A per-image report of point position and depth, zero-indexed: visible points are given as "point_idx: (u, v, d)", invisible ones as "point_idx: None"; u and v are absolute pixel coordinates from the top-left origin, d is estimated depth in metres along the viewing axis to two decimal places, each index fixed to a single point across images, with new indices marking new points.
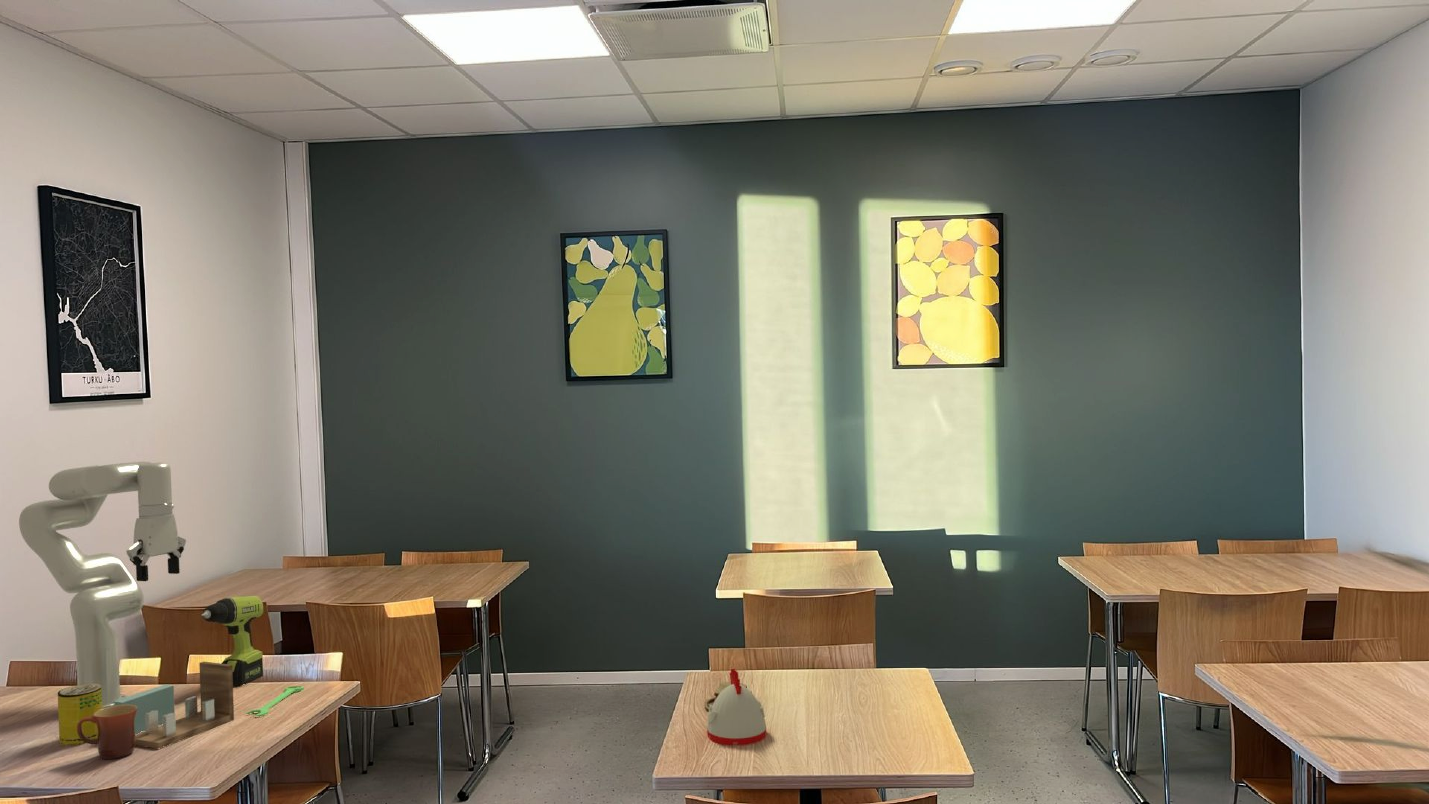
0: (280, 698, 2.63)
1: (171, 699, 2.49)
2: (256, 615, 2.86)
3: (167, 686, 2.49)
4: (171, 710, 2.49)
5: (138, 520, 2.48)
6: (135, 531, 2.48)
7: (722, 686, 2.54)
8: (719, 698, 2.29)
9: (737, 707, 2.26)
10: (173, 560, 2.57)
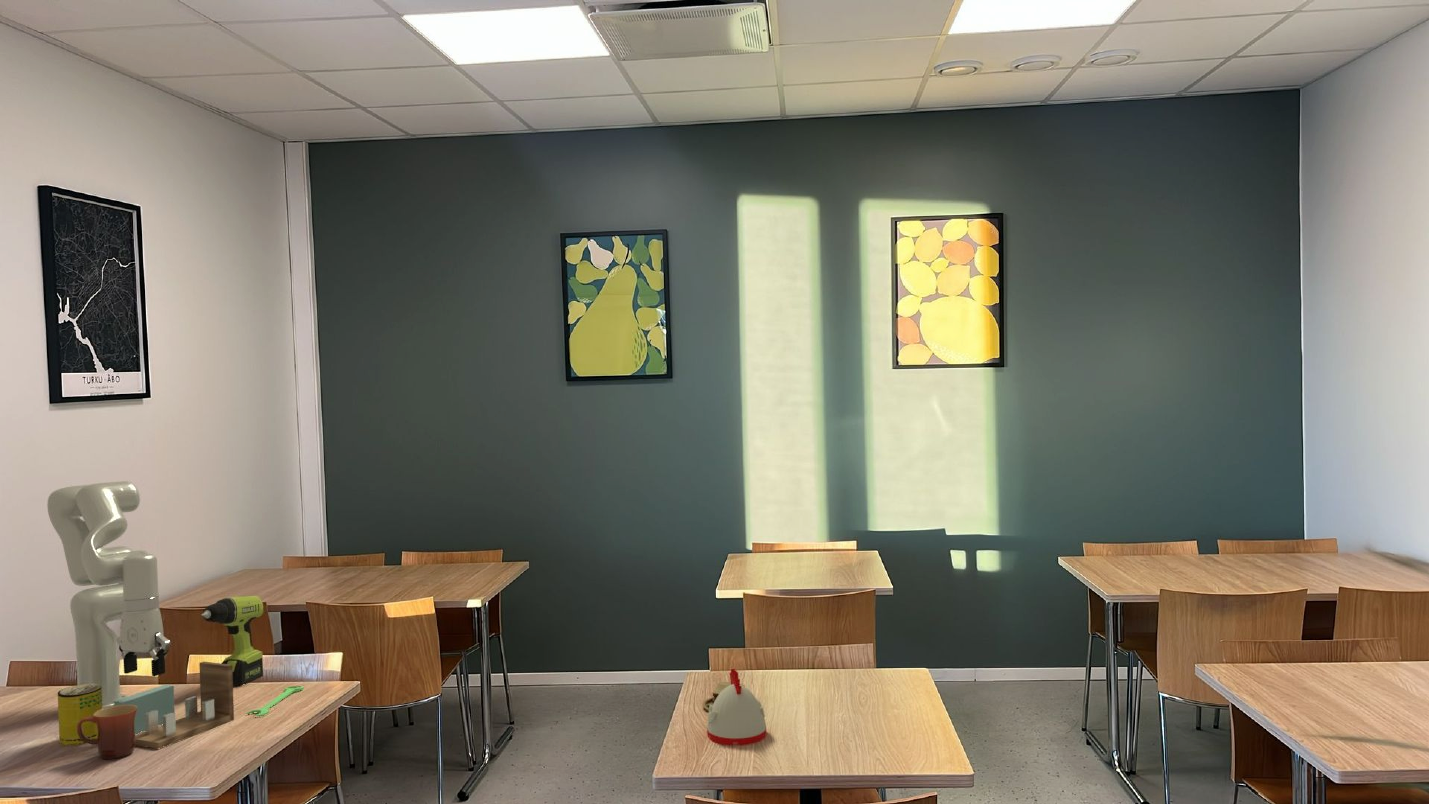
0: (280, 698, 2.63)
1: (171, 699, 2.49)
2: (256, 615, 2.86)
3: (167, 686, 2.49)
4: (171, 710, 2.49)
5: (151, 613, 2.40)
6: (150, 625, 2.40)
7: (720, 686, 2.54)
8: (719, 698, 2.29)
9: (737, 707, 2.26)
10: (133, 657, 2.45)
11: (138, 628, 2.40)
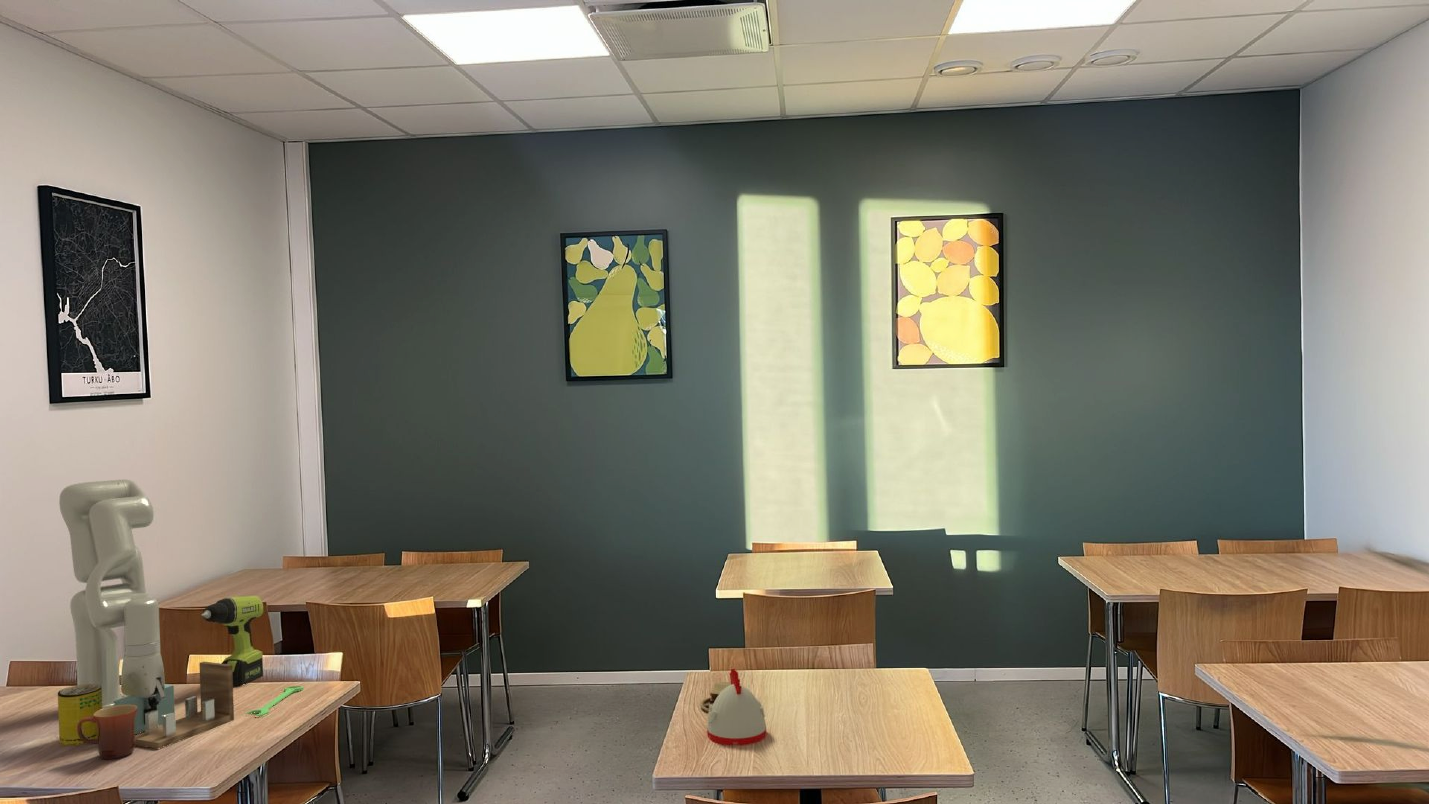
0: (280, 698, 2.63)
1: (171, 699, 2.49)
2: (256, 615, 2.86)
3: (167, 686, 2.49)
4: (171, 709, 2.49)
5: (153, 659, 2.41)
6: (151, 670, 2.40)
7: (717, 686, 2.54)
8: (719, 698, 2.29)
9: (737, 707, 2.26)
10: None
11: (139, 673, 2.40)
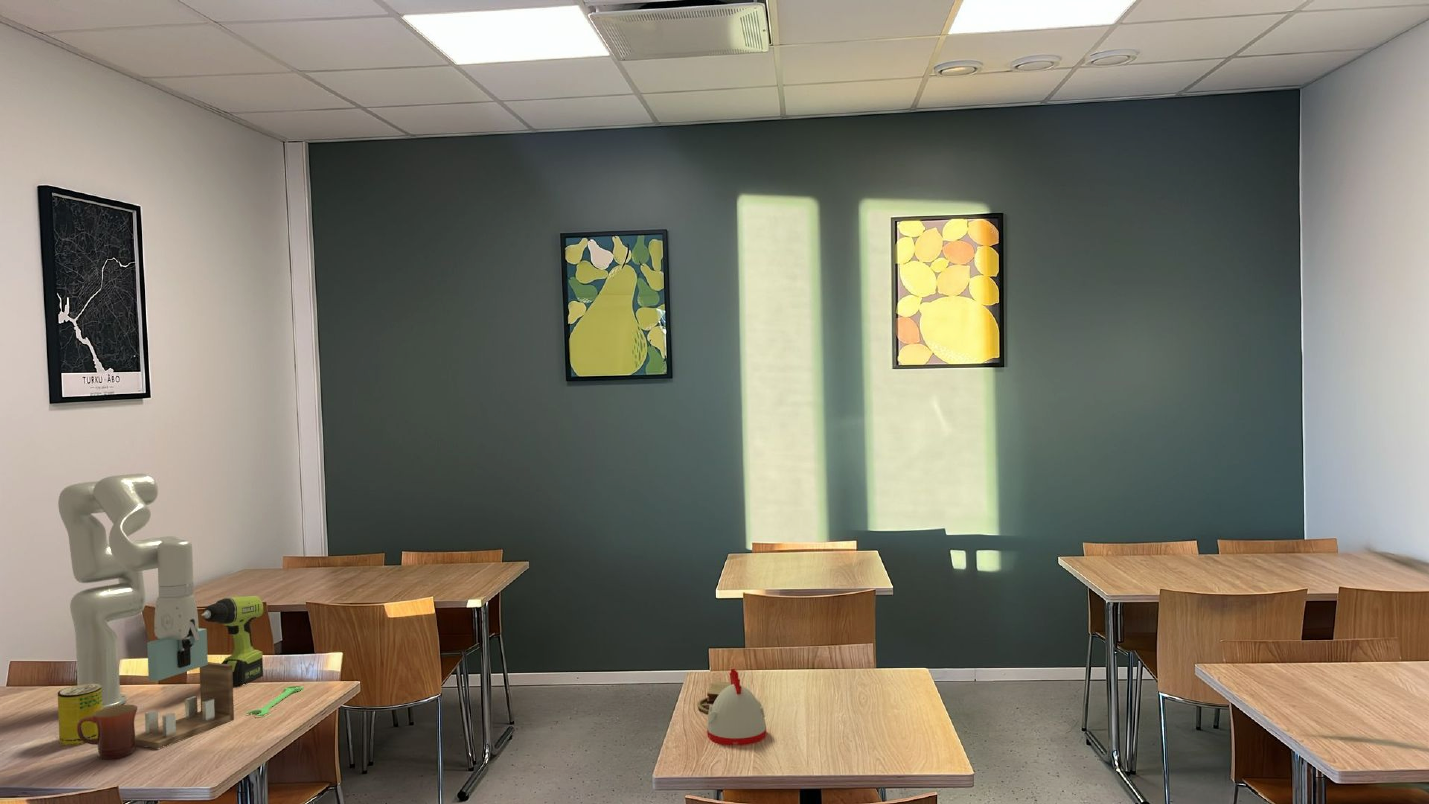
0: (280, 698, 2.63)
1: (204, 643, 2.45)
2: (256, 615, 2.86)
3: (200, 629, 2.45)
4: (204, 653, 2.45)
5: (187, 600, 2.37)
6: (185, 612, 2.37)
7: (714, 687, 2.54)
8: (719, 698, 2.29)
9: (737, 707, 2.26)
10: None
11: (173, 615, 2.37)
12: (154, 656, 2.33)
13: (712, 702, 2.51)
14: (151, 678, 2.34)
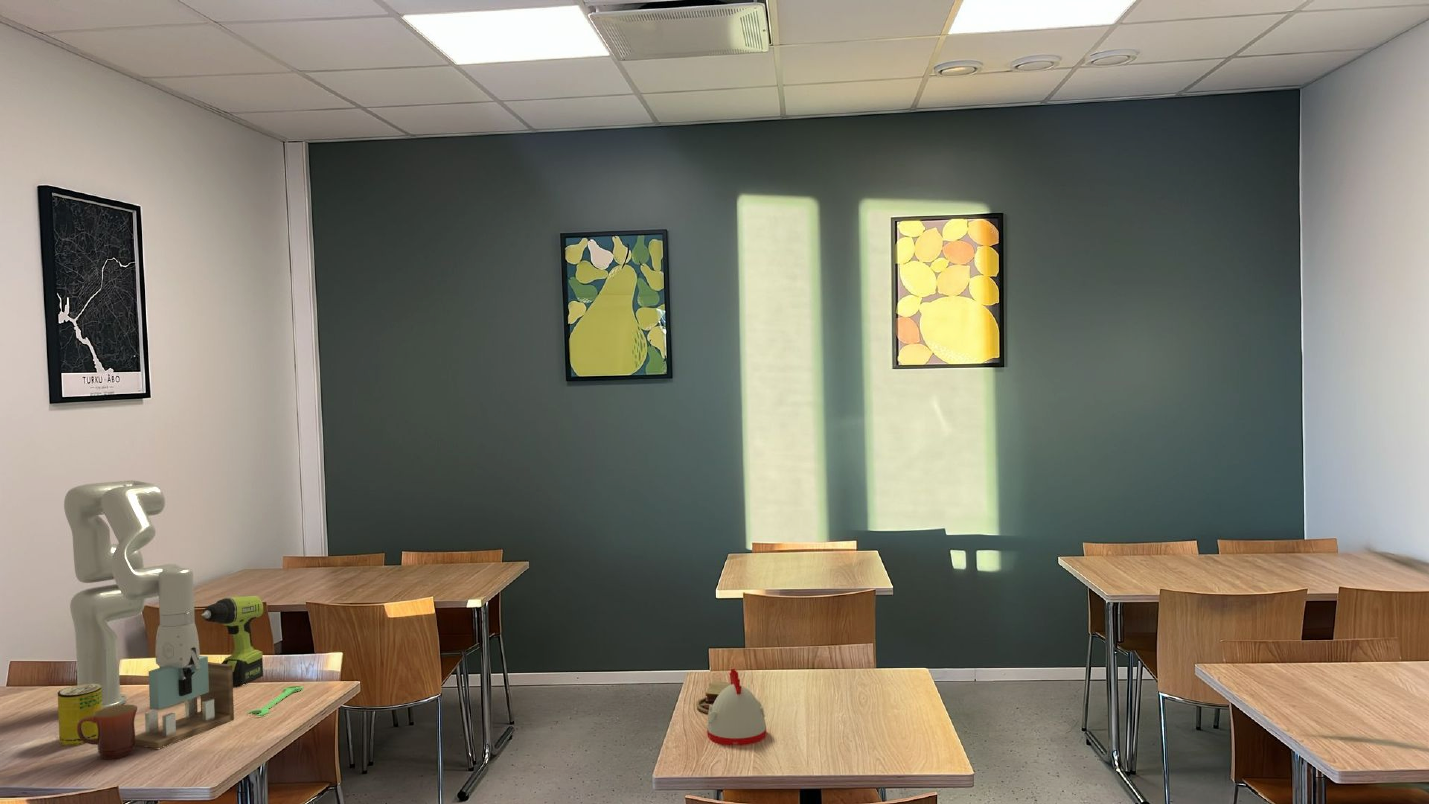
0: (280, 698, 2.63)
1: (205, 670, 2.45)
2: (256, 615, 2.86)
3: (201, 657, 2.45)
4: (205, 681, 2.45)
5: (188, 628, 2.37)
6: (186, 640, 2.37)
7: (712, 686, 2.54)
8: (719, 698, 2.29)
9: (737, 707, 2.26)
10: None
11: (174, 643, 2.37)
12: (155, 685, 2.33)
13: (711, 702, 2.51)
14: (152, 707, 2.34)
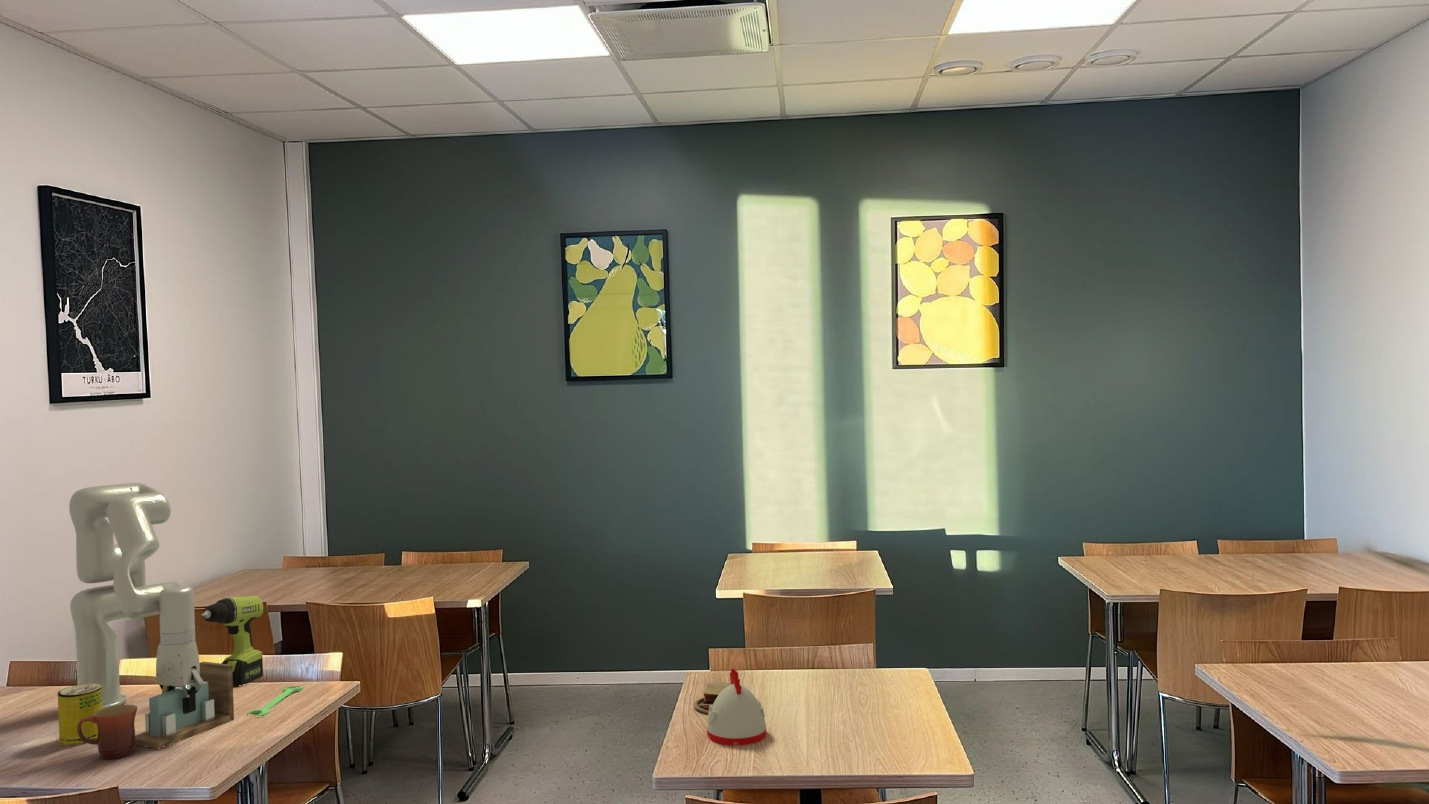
0: (280, 698, 2.63)
1: (206, 696, 2.46)
2: (256, 615, 2.86)
3: None
4: None
5: (188, 647, 2.38)
6: (186, 659, 2.37)
7: (710, 687, 2.54)
8: (719, 698, 2.29)
9: (737, 707, 2.26)
10: None
11: (175, 662, 2.37)
12: (156, 712, 2.34)
13: (709, 702, 2.51)
14: (153, 734, 2.34)
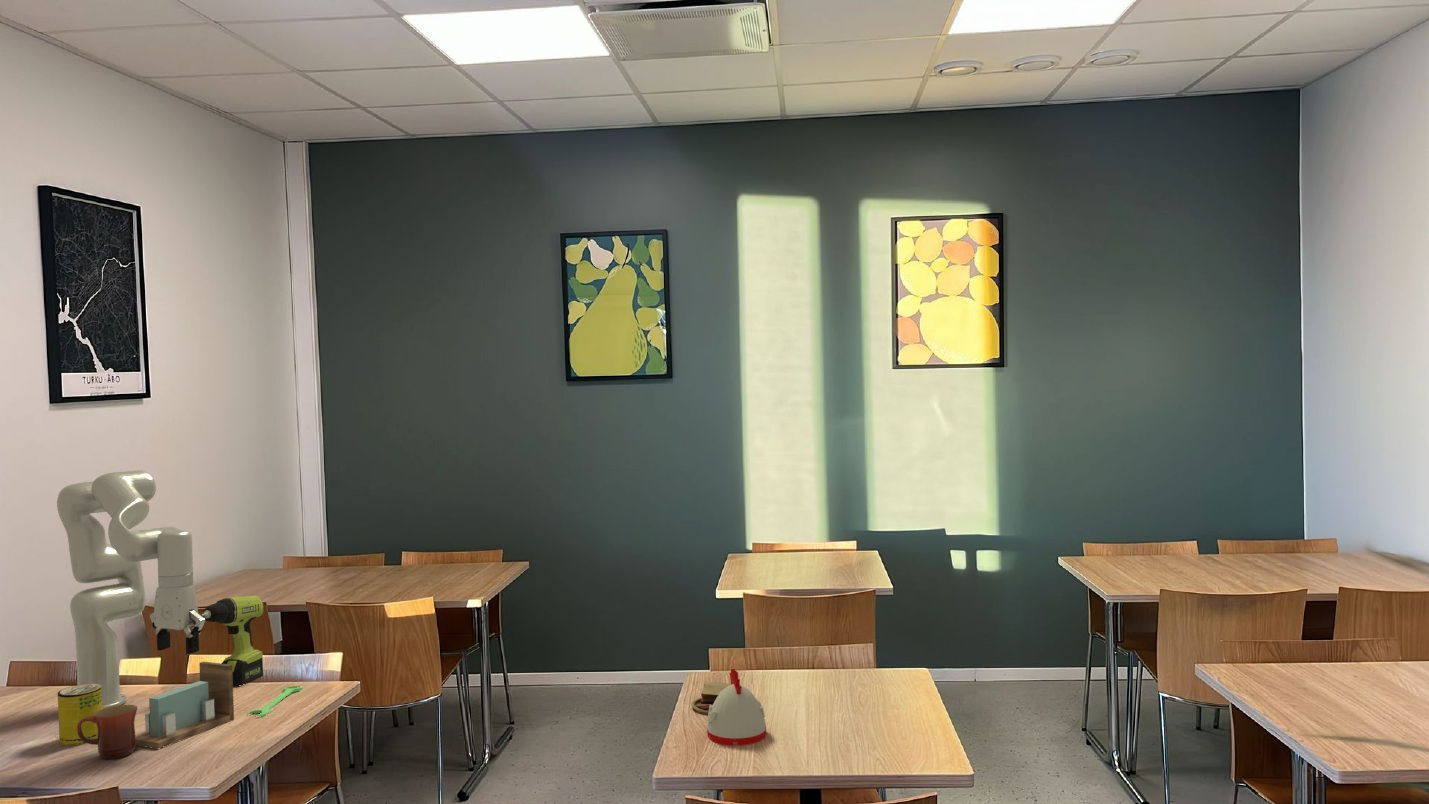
0: (280, 698, 2.63)
1: (206, 696, 2.46)
2: (256, 615, 2.86)
3: (202, 683, 2.46)
4: None
5: (186, 590, 2.37)
6: (184, 602, 2.37)
7: (707, 687, 2.54)
8: (719, 698, 2.29)
9: (737, 707, 2.26)
10: (166, 634, 2.42)
11: (173, 605, 2.37)
12: (156, 712, 2.34)
13: (706, 702, 2.51)
14: (153, 734, 2.34)
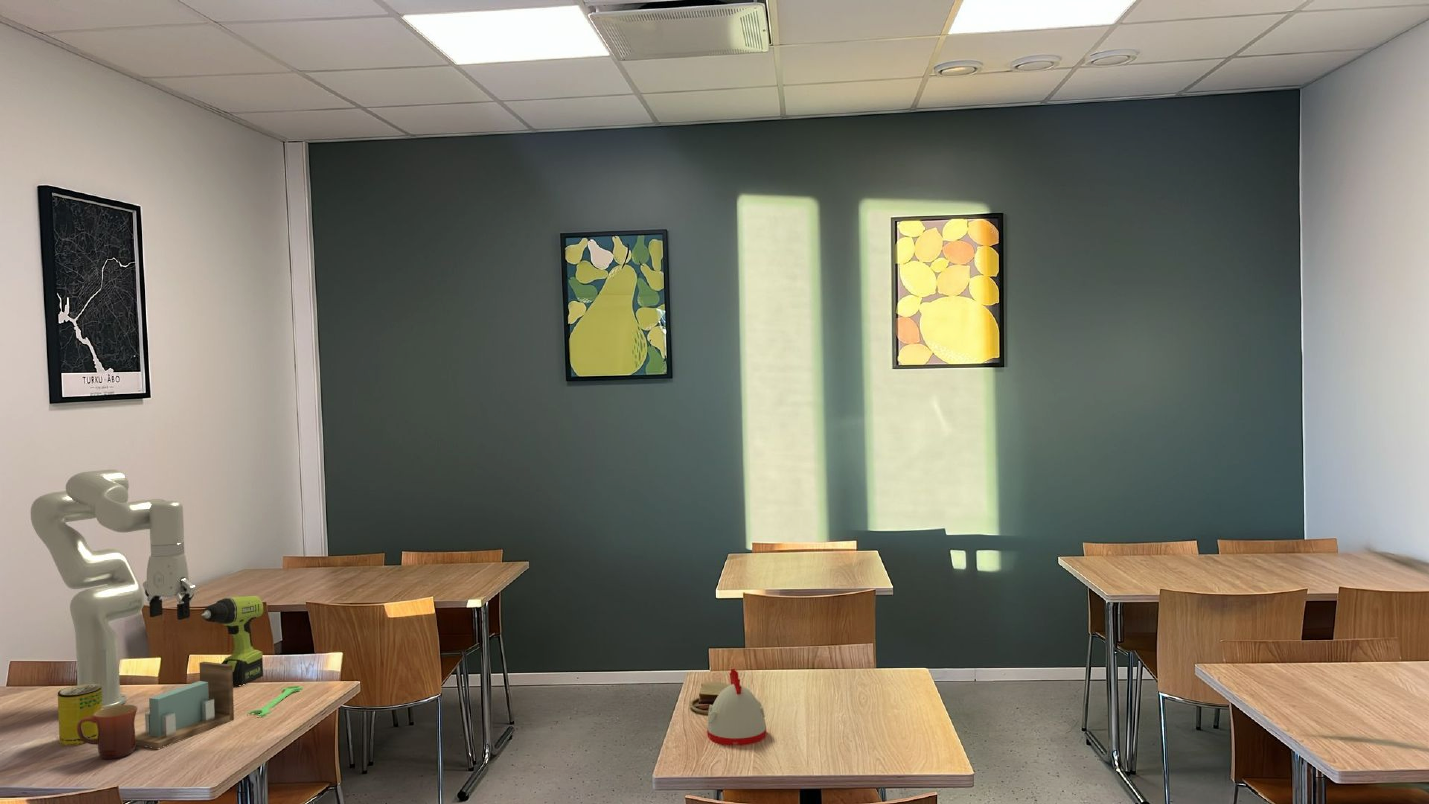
0: (280, 698, 2.63)
1: (206, 696, 2.46)
2: (256, 615, 2.86)
3: (202, 683, 2.46)
4: None
5: (177, 559, 2.46)
6: (176, 570, 2.46)
7: (705, 687, 2.54)
8: (719, 698, 2.29)
9: (737, 707, 2.26)
10: (158, 602, 2.51)
11: (164, 573, 2.46)
12: (156, 712, 2.34)
13: (704, 702, 2.51)
14: (153, 734, 2.34)
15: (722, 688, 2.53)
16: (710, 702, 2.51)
